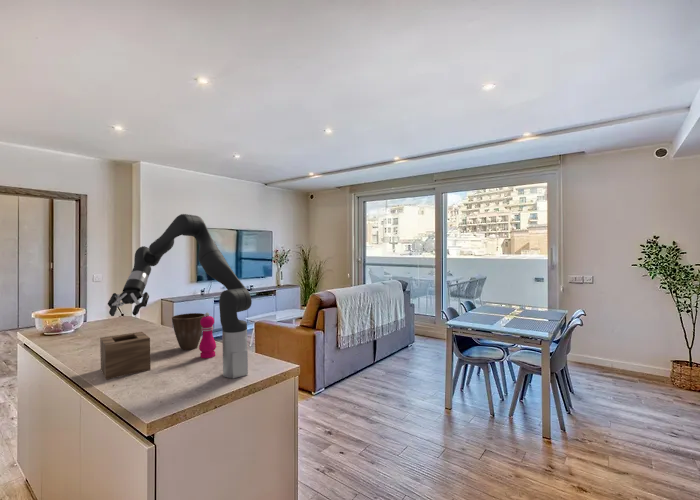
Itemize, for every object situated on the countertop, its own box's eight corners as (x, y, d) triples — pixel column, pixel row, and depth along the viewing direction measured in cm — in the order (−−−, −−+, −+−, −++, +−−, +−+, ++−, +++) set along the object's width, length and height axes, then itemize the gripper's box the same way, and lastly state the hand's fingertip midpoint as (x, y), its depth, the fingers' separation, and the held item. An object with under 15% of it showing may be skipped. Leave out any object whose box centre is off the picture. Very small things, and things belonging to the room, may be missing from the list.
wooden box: (150, 369, 142) (150, 338, 142) (105, 379, 132) (105, 345, 132) (142, 360, 153) (141, 331, 153) (100, 369, 143) (100, 337, 143)
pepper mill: (210, 359, 154) (209, 314, 154) (195, 358, 156) (195, 313, 155) (219, 354, 161) (218, 311, 161) (205, 353, 163) (204, 310, 163)
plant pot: (174, 345, 176) (173, 314, 176) (206, 342, 182) (205, 312, 182) (170, 354, 162) (169, 320, 162) (204, 350, 168) (204, 317, 168)
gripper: (115, 278, 149) (99, 310, 137) (150, 277, 150) (138, 308, 139) (122, 289, 154) (107, 320, 143) (156, 288, 156) (144, 319, 144)
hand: (122, 314), depth 141 cm, fingers open, 8 cm apart
